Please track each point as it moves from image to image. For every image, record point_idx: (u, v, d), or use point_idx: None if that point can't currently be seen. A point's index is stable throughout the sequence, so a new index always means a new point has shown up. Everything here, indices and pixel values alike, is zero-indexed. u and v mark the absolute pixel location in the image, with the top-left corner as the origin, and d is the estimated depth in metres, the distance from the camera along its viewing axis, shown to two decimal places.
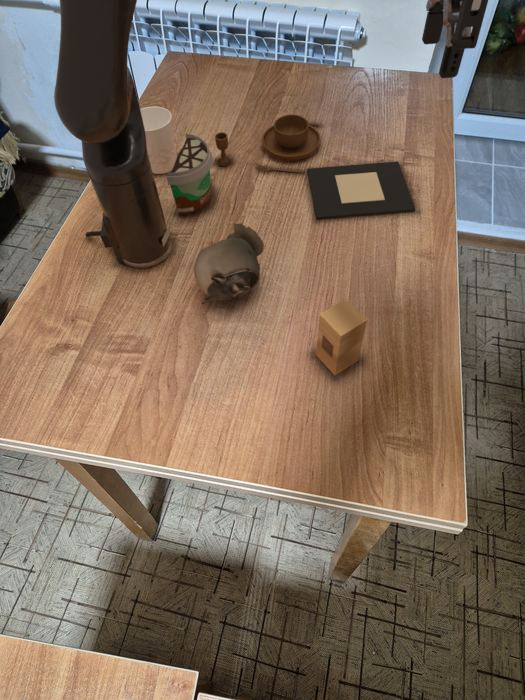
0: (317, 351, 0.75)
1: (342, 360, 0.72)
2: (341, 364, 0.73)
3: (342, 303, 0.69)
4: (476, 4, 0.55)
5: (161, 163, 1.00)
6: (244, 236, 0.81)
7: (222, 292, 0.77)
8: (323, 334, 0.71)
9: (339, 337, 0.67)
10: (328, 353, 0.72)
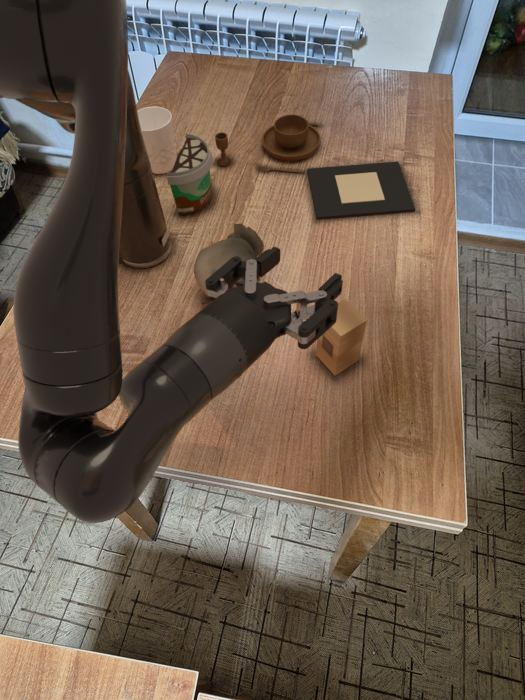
0: (317, 351, 0.75)
1: (342, 360, 0.72)
2: (341, 364, 0.73)
3: (342, 303, 0.69)
4: None
5: (161, 163, 1.00)
6: (244, 236, 0.81)
7: None
8: (323, 334, 0.71)
9: (339, 337, 0.67)
10: (328, 353, 0.72)
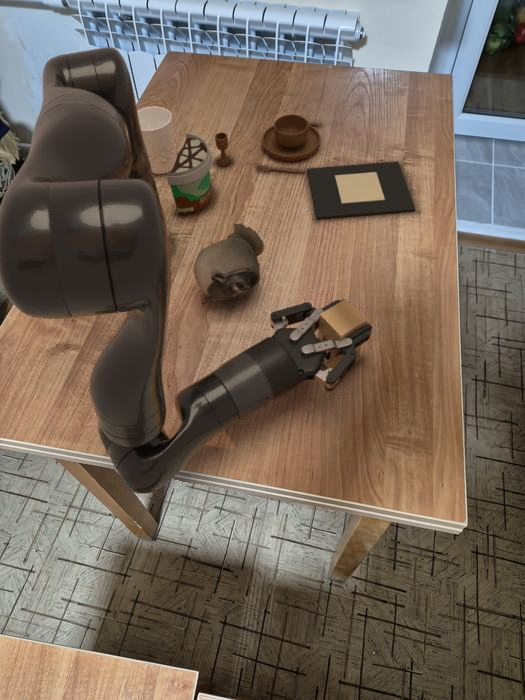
0: None
1: None
2: None
3: (342, 303, 0.69)
4: None
5: (161, 163, 1.00)
6: (244, 236, 0.81)
7: (222, 292, 0.77)
8: (323, 334, 0.71)
9: (339, 337, 0.67)
10: None
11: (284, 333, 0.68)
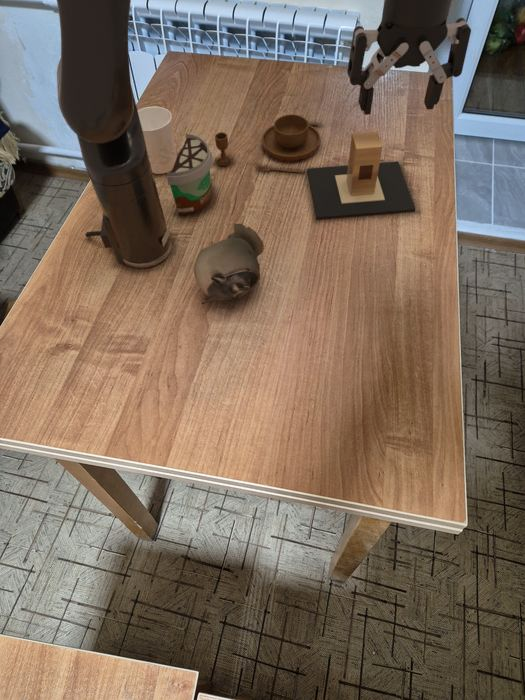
0: (352, 190, 0.94)
1: None
2: None
3: (354, 135, 0.89)
4: (354, 42, 0.62)
5: (161, 163, 1.00)
6: (244, 236, 0.81)
7: (222, 292, 0.77)
8: (359, 166, 0.90)
9: (381, 149, 0.87)
10: (367, 178, 0.92)
11: None
